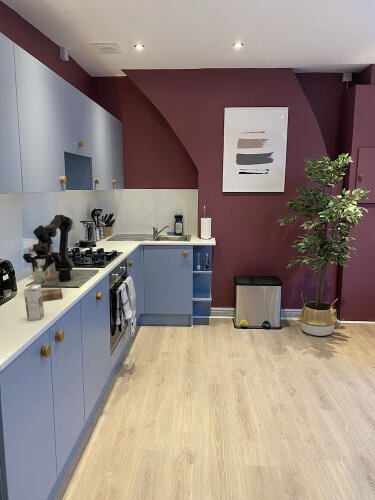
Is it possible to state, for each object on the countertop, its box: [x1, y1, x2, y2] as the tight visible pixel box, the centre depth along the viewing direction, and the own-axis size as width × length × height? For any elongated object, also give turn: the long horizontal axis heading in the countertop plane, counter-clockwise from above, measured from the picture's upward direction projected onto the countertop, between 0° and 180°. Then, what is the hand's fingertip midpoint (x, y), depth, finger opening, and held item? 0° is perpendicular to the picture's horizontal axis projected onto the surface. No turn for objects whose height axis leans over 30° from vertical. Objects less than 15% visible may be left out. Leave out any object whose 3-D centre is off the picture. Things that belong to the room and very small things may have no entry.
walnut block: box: [41, 287, 63, 303], centre depth 198 cm, size 10×10×3 cm
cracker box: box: [28, 245, 57, 281], centre depth 237 cm, size 14×6×21 cm, turn 71°
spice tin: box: [34, 265, 47, 285], centre depth 199 cm, size 5×5×9 cm
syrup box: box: [23, 284, 45, 321], centre depth 168 cm, size 6×6×14 cm
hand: (38, 271), depth 197 cm, fingers closed on spice tin, 5 cm apart
